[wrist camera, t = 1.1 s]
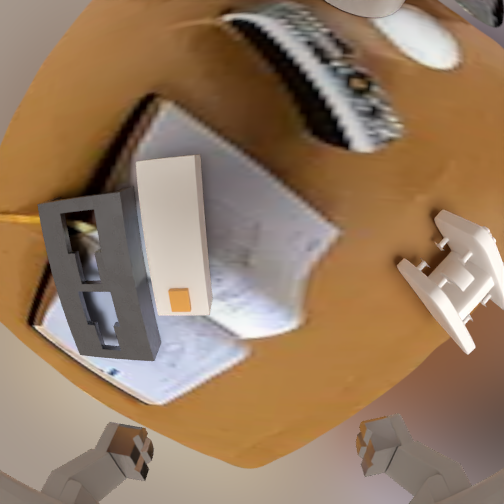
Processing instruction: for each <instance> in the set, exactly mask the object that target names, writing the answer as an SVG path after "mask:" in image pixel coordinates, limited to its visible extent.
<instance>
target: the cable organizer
mask: <svg viewBox="0 0 504 504" xmlns="http://www.w3.org/2000/svg"><path fill="white" fill-rule="evenodd" d="M434 221H435V224H436V226H437V228H438V229H439V231H440V232H441V234H442V236H443V237H444V238H443V239H442V241H441V242H440V243H439V244H437V243H436V242H435V241H434V242H435V243H436V246H437V247H439V249H440V250H441V251H442V250H443V249H442V248H443V246H444V245H445V244H446V243H447V244H448V246H449V248H450V249H451V252H450V253H449V254H448V256H447V257H446V258H445V259H444V260H443V261H442V262H441V263H440V264H439V265H438V266H437V267H436V269H435V270H434V271H433V272H432V273H431V274H430V275H429V276H428V277H427V276H426V275H425V274H424V273H423V272H421V270H422V269H423V268H424V267H425V266H427V267H429V266H428V264H427V263H426V262H425V261H424V260H422V259H421V258H420V259H421V260H422V262H421V263H420V264H419V265H418V266H417V267H415V266H414V265H413V264H412V263H410V262H409V261H408V260H407V259H405V258H404V259H403V260H402V261H401V262H400V263H399V264H398V265H397V268H398V270H399V271H400V273H401V274H402V275H403V277H404V278H405V279H406V281H407V282H408V283H409V285H410V286H411V287H412V289H413V290H414V291H415V293H416V294H417V295H418V297H419V298H420V299H421V301H422V302H423V303H424V305H425V306H426V308H427V309H428V310H429V312H430V313H431V315H432V316H433V317H434V318H435V320H436V321H437V322H438V323H439V324H440V325H441V326H442V327H443V328H444V330H445V331H446V332H447V333H448V334H449V335H450V336H451V337H452V339H453V340H454V341H455V342H456V343H457V344H458V345H459V347H460V348H461V349H462V350H463V351H464V352H465V353H466V354H469V353H470V352H471V351H472V350H473V349H474V348H475V344H474V342H473V340H472V338H471V336H470V334H469V332H468V330H467V329H466V327H465V323H466V322H467V321H468V320H469V319H471V320H472V318H471V316H470V314H469V313H470V312H471V311H472V310H473V309H474V308H475V307H476V306H477V304H478V303H479V302H481V304H482V305H485V303H486V302H487V301H488V300H489V299H491V300H492V301H493V302H495V303H496V304H497V305H498V306H500V308H502V309H503V310H504V265H503V264H504V263H503V262H502V259H501V257H500V253H499V252H498V249H497V246H496V244H495V243H496V240H495V238H494V237H492V235H491V233H490V234H489V232H490V230H489V229H488V228H487V227H485V226H483V227H481V226H479V225H477V224H475V223H473V222H471V221H469V220H466V219H464V218H462V217H460V216H457V215H455V214H453V213H451V212H448V211H446V210H441V211H440V212H439V213H438V215H437V216H436V217H435V218H434ZM485 295H486V296H485ZM484 296H485V297H484ZM472 321H473V320H472Z"/></svg>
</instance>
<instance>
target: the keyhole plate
mask: <svg viewBox="0 0 504 504" xmlns="http://www.w3.org/2000/svg"><path fill="white" fill-rule="evenodd" d="M91 209H94V211H95V218H96V224H97V230H98V235H99V241H100V246H101V249H100V250H97V251H96V252H95V257H96V262H97V266H98V271H99V275H100V279H101V281H85V277H84V273H83V269H82V265H81V261H80V257H79V252H78V251H72V249H71V244H70V239H69V234H68V229H67V224H66V218H65V213H67V212H75V211H83V210H91ZM38 210H39V216H40V222H41V227H42V232H43V237H44V241H45V246H46V250H47V254H48V259H49V263H50V266H51V270H52V274H53V278H54V281H55V285H56V288H57V291H58V295H59V298H60V301H61V304H62V307H63V310H64V313H65V316H66V319H67V322H68V325H69V327H70V330H71V333H72V335H73V338H74V340H75V343H76V346H77V348H78V350H79V353H80V355H85V356H94V357H104V358H115V359H128V360H143V361H154V360H155V358H156V355H157V352H158V350H159V347H160V344H161V340H160V336H159V332H158V327H157V323H156V319H155V314H154V310H153V305H152V300H151V295H150V290H149V285H148V280H147V275H146V269H145V264H144V258H143V252H142V246H141V239H140V233H139V226H138V218H137V211H136V203H135V194H134V186H133V187H126V188H123V189H121V190H118V191H116V192H109V193H101V194H94V195H87V196H80V197H74V198H67V199H61V197H56V198H53V199H50V200H48V201H45V202H43V203H40V204H38ZM82 291H89V292H111V295H112V299H113V303H114V307H115V310H116V314H117V318H118V321H119V322H116V323H115V325H114V326H113V327H114V330H115V333H116V336H117V339H118V343H119V346H110V345H105V343H104V341H103V338H102V335H101V332H100V329H99V326H98V323H97V321H91V319H90V316H89V313H88V310H87V307H86V303H85V300H84V296H83V293H82Z"/></svg>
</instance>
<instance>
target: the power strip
mask: <svg viewBox="0 0 504 504" xmlns="http://www.w3.org/2000/svg"><path fill="white" fill-rule="evenodd" d="M136 173H137V183H138V193H139V202H140V210H141V218H142V226H143V233H144V239H145V246H146V252H147V258H148V264H149V270H150V276H151V281H152V286H153V292H154V297H155V302H156V306H157V311H158V315H210V310H211V305H212V300H213V297H212V288H211V279H210V269H209V259H208V248H207V237H206V226H205V214H204V201H203V187H202V172H201V156H200V154H198V155H186V156H176V157H167V158H158V159H149V160H143V161H138V162H136Z"/></svg>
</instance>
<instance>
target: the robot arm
mask: <svg viewBox="0 0 504 504" xmlns="http://www.w3.org/2000/svg"><path fill="white" fill-rule="evenodd" d="M325 1H326V2H328V3H330V4H331V5H333V6H335V7H337V8H339V9H341V10H343V11H346V12H348V13H351V14H355V15H358V16H363V17H372V18H378V17H385V16H389V15H391V14H393V13H395V12H396V11H397V10H399V8H400V7H401V6H402V4H403V3H404V2H405V0H325ZM359 428H360V431H361V432H360V433H359V434H358V435H357V439H356V448H357V453H358V456H360V457H361V458H362V459H363V460H362V463H361V466H362V469H363V472H364V476H365V477H367V476H372V475H376V474H381V473H385V472H386V474H387V475H388V476H389V477H390V478H392V479H393V480H394V481H395V482H397V483H398V484H399V485H401V486H402V487H403V488H404V489H406V490H407V491H408V492H409V493H411V494H412V495H413V496H414V498H413V499H412V500H411V501H410V503H409V504H504V468H503V469H502V470H500V471H498V472H497V473H495V474H493V475H492V476H490V477H488V478H486V479H485V480H483V481H481V482H479V483H477V484H475V485H473V486H472V485H471V483H470V481H469V479H468V478H467V476H466V474H465V472H464V470H463V468H462V466H461V464H459V463H457V462H456V461H454V460H451V459H450V458H448V457H446V456H444V455H442V454H440V453H438V452H436V451H435V450H433V449H431V448H429V447H427V446H425V445H423V444H422V443H420V442H418V441H416V442H414V441H413V439H412V437H411V435H410V433H409V431H408V429H407V427H406V425H405V423H404V421H403V419H402V417H401V415H399V414H394V415H390V416H384V417H380V418H376V419H371V420H366V421H362V422H361V424H360V427H359ZM147 434H148V433H147V431H146V429H145V428H142V427H135V426H130V425H124V424H119V423H113V422H110V423H109V424H107V426H106V428H105V430H104V432H103V433H102V435H101V437H100V439H99V441H98V443H97V445H96V447H95V449H90V450H88V451H87V452H85V453H83V454H82V455H80V456H78V457H76V458H75V459H73V460H71V461H69V462H68V463H66V464H64V465H62V466H61V467H59V468H57V469H55V470H53V471H52V472H51V474H50V475H49V477H48V479H47V481H46V483H45V484H44V486H43V488H42V490H41V492H39V491H37V490H35V489H33V488H31V487H29V486H27V485H25V484H23V483H22V482H20V481H18V480H16V479H14V478H13V477H11V476H9V475H7V474H6V473H4V472H2V471H1V470H0V504H99V503H98V502H99V501H100V500H102V499H103V498H104V497H105V496H106V495H108V494H109V493H110V492H111V491H112V490H113V489H115V488H116V487H117V486H118V485H120V484H121V483H122V482H123V481H124V480H125V479H126V478H130V479H135V480H141V481H145V480H146V477H147V474H148V471H149V468H148V466H147V463H149V462H150V461H152V458H153V452H154V448H153V444H152V441H151V440H150V439H149V438H147Z"/></svg>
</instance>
